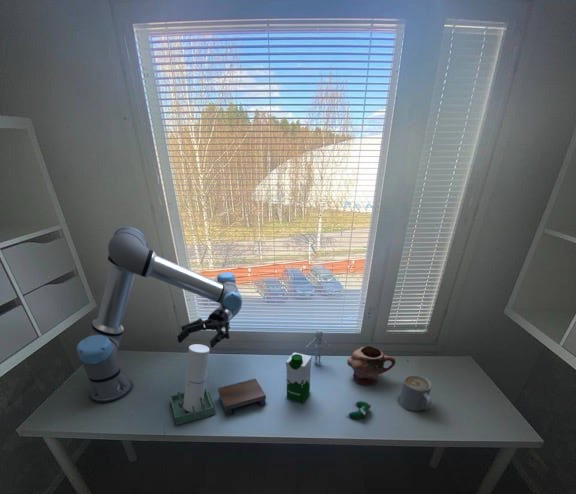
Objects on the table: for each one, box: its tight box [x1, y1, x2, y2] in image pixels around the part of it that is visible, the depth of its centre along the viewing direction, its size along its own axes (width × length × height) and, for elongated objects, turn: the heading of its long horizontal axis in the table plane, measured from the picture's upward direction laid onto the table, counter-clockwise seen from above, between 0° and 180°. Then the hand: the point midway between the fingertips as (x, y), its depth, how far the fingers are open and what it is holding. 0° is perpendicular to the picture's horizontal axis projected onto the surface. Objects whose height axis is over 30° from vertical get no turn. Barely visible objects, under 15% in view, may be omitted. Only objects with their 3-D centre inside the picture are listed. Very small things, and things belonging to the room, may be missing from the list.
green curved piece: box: [348, 400, 372, 419], centre depth 122 cm, size 9×4×6 cm
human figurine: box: [305, 329, 332, 366], centre depth 146 cm, size 12×4×18 cm, turn 90°
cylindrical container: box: [183, 343, 211, 413], centre depth 120 cm, size 7×7×25 cm
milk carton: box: [285, 352, 313, 404], centre depth 126 cm, size 9×9×20 cm
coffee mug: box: [398, 374, 433, 412], centre depth 124 cm, size 13×10×10 cm
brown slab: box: [217, 378, 267, 416], centre depth 128 cm, size 12×16×5 cm
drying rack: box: [169, 386, 215, 426], centre depth 124 cm, size 14×14×7 cm
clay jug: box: [346, 345, 396, 386], centre depth 138 cm, size 20×12×14 cm, turn 92°
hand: (194, 342), depth 120 cm, fingers open, 13 cm apart
